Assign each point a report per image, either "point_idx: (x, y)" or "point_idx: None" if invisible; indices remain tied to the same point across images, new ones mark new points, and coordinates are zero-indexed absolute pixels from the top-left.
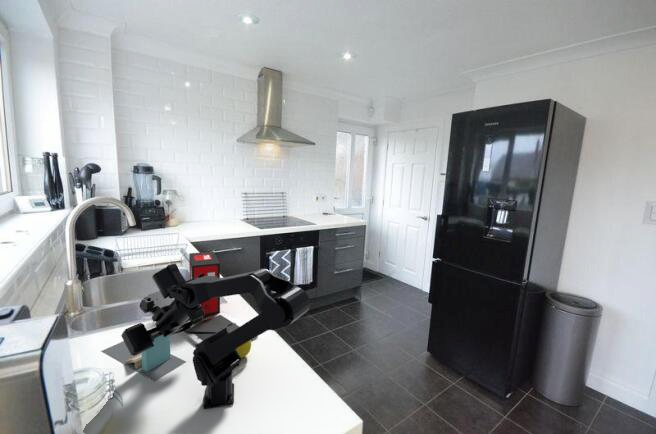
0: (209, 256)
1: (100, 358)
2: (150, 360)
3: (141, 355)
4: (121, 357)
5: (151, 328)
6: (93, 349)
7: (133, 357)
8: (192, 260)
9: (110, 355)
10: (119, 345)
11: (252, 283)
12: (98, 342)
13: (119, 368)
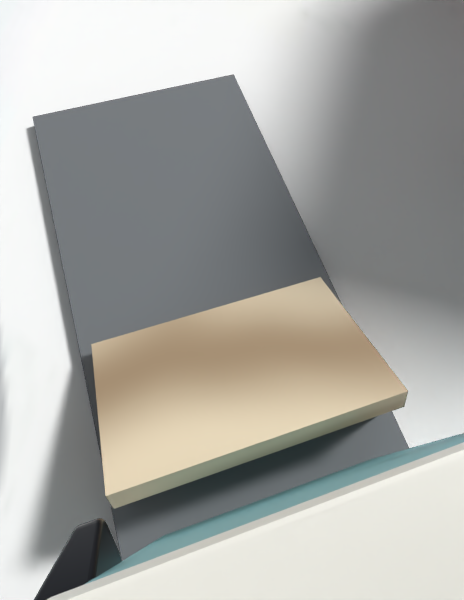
0: None
1: (9, 181)
2: None
3: (181, 420)
4: (97, 259)
5: (345, 520)
6: (18, 74)
7: (147, 339)
8: None
9: (54, 193)
10: (134, 119)
11: None
12: (63, 27)
13: (48, 377)
